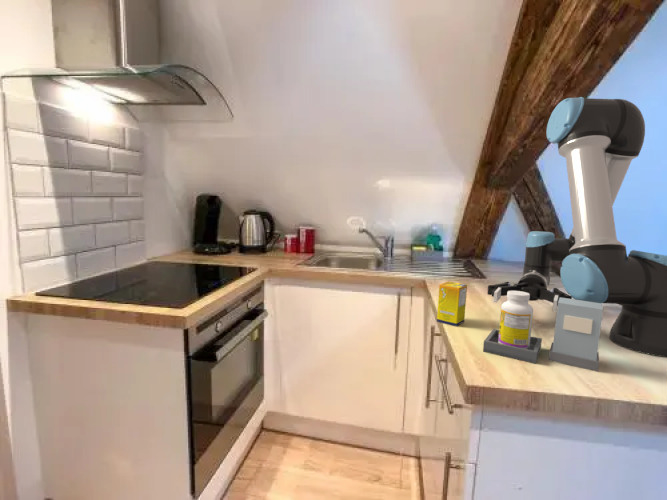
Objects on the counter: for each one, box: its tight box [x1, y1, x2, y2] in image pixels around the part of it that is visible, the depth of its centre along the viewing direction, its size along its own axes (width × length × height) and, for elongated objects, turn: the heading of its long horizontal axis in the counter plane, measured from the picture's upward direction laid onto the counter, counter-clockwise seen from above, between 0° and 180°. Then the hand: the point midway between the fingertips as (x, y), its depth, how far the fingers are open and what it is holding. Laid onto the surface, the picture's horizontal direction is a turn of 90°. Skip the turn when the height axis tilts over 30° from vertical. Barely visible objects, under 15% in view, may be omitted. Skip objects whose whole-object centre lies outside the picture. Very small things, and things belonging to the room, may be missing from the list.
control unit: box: [548, 297, 604, 372], centre depth 84 cm, size 9×7×13 cm
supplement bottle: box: [498, 291, 534, 349], centre depth 89 cm, size 7×7×13 cm
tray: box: [482, 328, 543, 365], centre depth 90 cm, size 11×11×2 cm
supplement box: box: [436, 281, 468, 327], centre depth 109 cm, size 6×6×11 cm
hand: (523, 301), depth 97 cm, fingers open, 13 cm apart
